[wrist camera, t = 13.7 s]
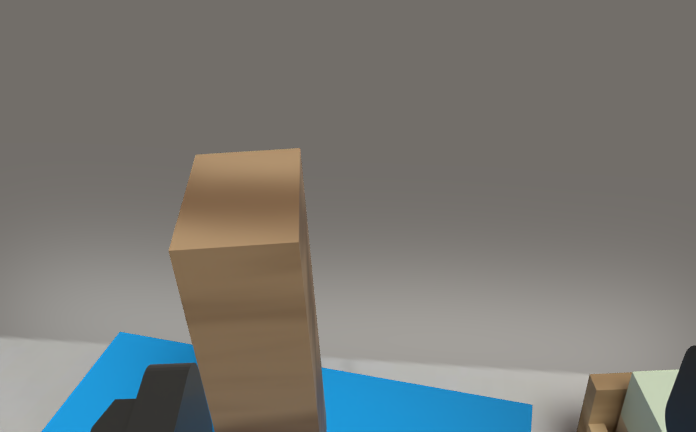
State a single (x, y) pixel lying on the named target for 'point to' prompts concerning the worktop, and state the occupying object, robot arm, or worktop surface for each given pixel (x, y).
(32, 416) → the worktop surface
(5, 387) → the worktop surface
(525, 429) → the book
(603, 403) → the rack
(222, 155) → the tall wooden block
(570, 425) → the worktop surface
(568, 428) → the worktop surface
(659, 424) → the offcut upper
